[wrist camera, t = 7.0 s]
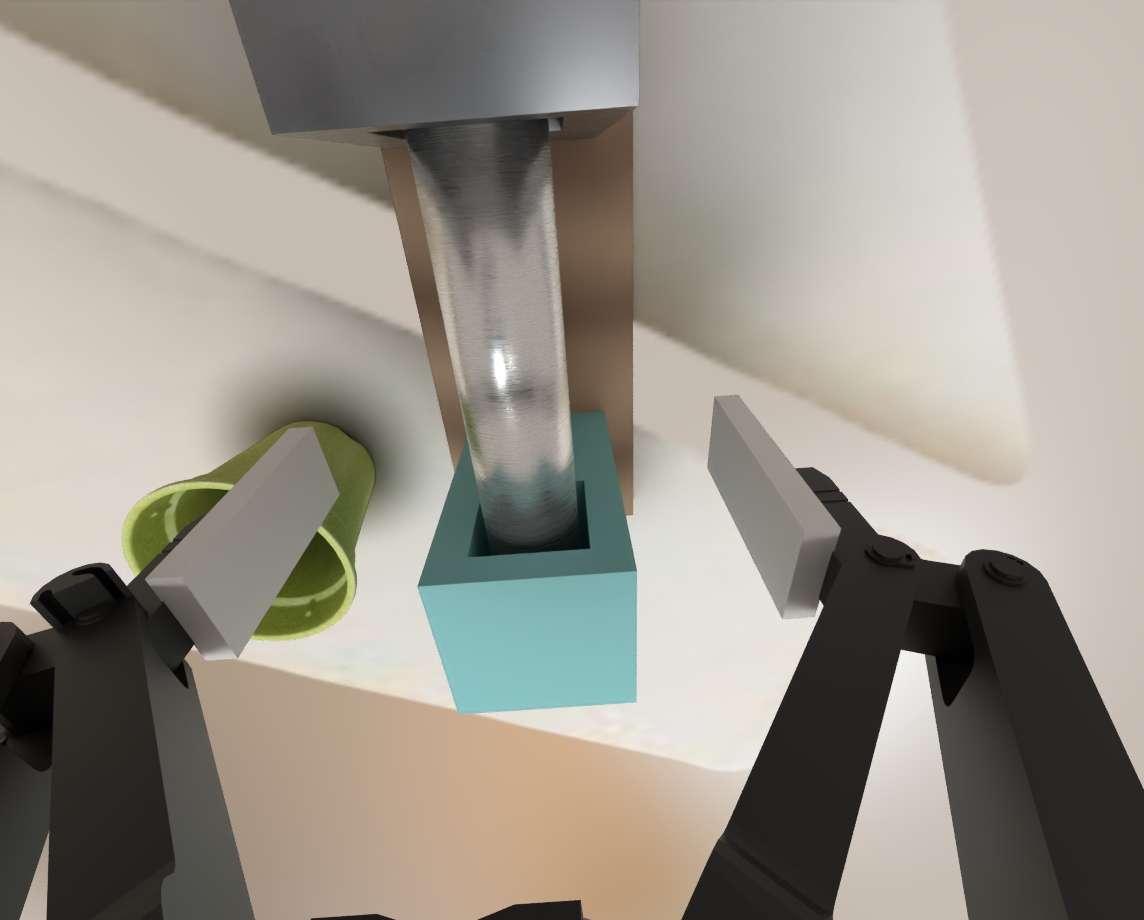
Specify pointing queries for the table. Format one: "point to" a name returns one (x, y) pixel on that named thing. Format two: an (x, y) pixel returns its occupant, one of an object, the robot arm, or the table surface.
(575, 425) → the teal socket block
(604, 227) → the walnut board
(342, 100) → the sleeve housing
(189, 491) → the plant pot
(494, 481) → the steel tube
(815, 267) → the table surface
